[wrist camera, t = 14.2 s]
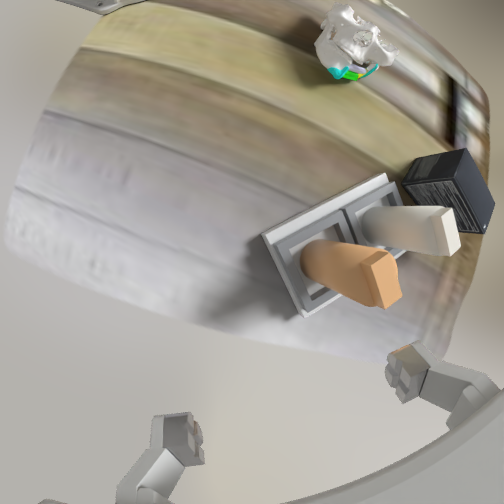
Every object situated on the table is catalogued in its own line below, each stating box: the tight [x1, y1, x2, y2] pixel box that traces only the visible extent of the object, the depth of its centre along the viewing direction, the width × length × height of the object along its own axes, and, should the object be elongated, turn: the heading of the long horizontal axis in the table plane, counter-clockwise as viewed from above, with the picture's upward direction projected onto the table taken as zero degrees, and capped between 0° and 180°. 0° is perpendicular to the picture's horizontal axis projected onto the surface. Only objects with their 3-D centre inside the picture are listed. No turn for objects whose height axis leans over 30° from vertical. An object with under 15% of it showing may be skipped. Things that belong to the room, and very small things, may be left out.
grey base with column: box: [261, 173, 461, 318], centre depth 28 cm, size 18×11×14 cm, turn 117°
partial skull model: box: [314, 2, 399, 81], centre depth 29 cm, size 12×9×10 cm
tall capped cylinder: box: [300, 239, 402, 309], centre depth 26 cm, size 5×5×12 cm
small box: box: [402, 148, 495, 234], centre depth 32 cm, size 11×6×10 cm, turn 50°
